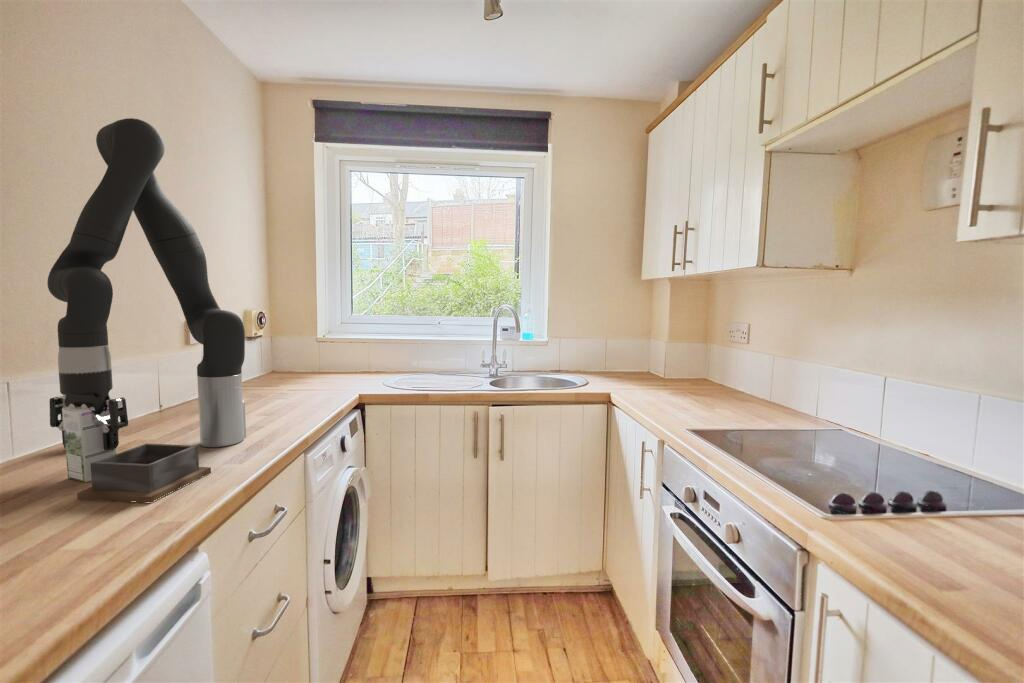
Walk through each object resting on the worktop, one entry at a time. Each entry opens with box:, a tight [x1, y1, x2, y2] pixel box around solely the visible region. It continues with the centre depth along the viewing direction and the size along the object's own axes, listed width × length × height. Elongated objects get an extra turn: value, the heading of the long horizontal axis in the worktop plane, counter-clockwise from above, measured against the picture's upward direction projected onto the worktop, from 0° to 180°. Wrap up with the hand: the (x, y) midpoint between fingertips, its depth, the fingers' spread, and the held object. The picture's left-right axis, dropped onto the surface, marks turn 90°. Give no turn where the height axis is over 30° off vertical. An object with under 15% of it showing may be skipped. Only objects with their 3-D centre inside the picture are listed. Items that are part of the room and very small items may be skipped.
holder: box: [76, 443, 212, 503], centre depth 85 cm, size 14×14×6 cm
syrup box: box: [62, 407, 117, 483], centre depth 88 cm, size 6×6×14 cm
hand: (91, 448), depth 88 cm, fingers open, 8 cm apart
